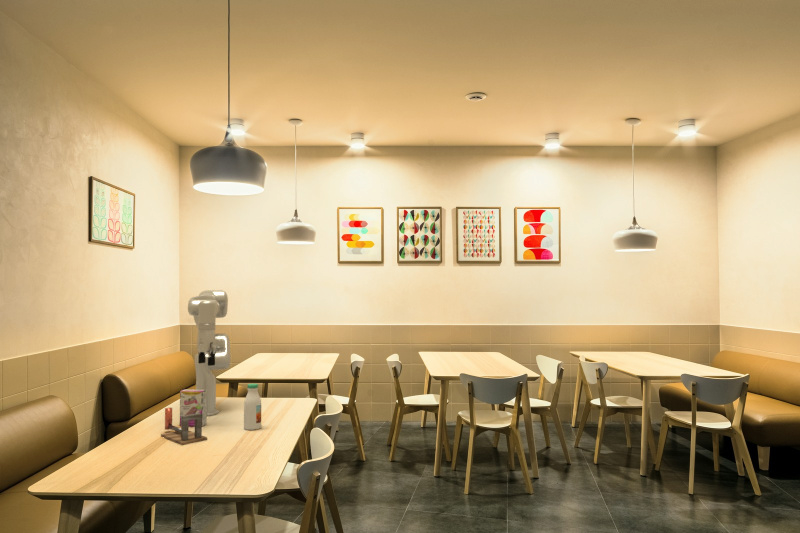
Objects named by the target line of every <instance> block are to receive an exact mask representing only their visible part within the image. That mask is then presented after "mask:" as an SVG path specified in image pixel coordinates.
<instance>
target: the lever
mask: <svg viewBox="0 0 800 533" xmlns="http://www.w3.org/2000/svg"><path fill="white" fill-rule="evenodd" d="M164 430H167V431H168V430H171V431H173V432H174V431H176V432H179V433H181V427H178V426H176V425H173V407H165V408H164Z"/></svg>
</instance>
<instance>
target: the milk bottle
mask: <svg viewBox="0 0 800 533" xmlns="http://www.w3.org/2000/svg"><path fill="white" fill-rule="evenodd" d="M258 388H259V384H258V383H248V384H247V394H246V396H245V399H244V402H243V429H244V430H246V431H255V430H254V429H256V430H259V428H260V429H261V428H262V399H261V396H260V394H259V392H258Z"/></svg>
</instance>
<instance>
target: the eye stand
mask: <svg viewBox="0 0 800 533" xmlns="http://www.w3.org/2000/svg"><path fill="white" fill-rule="evenodd" d="M189 420H195V427H194V431H191V430H189V427H190V426H189ZM180 428H181V433H179V432H176V431H174V430H173V431H171V432H164V433H161V434H160V437H161V438H163V437H164V439H166V440H168V441H171V442H173V443H174V444H175V443H176V444H177V445H180V446H184V445H189V444H193V443H199V442H203V441H208V436H205V435H202V433H203V430H202V429H203V427H202V414H201V413H197V414H191V415H185V416H181V426H180Z"/></svg>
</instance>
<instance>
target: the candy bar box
mask: <svg viewBox="0 0 800 533" xmlns="http://www.w3.org/2000/svg"><path fill="white" fill-rule="evenodd" d="M197 413H201V414H202V428H203V427H204V426H206V425H207V423H208V422H207V419H208V418H207V417H208V416H207V390H196V389H193V388H191V389H190V388H187V389H183V390H180V392H179V426H180V427H181V416H185V415H191V414H197ZM189 427H190V428H191V427H194V428H195V420H189Z"/></svg>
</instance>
